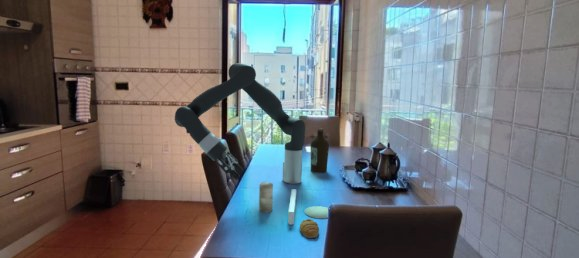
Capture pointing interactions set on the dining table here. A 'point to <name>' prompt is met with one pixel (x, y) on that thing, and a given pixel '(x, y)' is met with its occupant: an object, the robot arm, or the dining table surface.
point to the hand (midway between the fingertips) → (240, 175)
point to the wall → (292, 207)
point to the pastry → (309, 228)
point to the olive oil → (319, 153)
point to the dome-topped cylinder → (265, 197)
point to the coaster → (317, 212)
